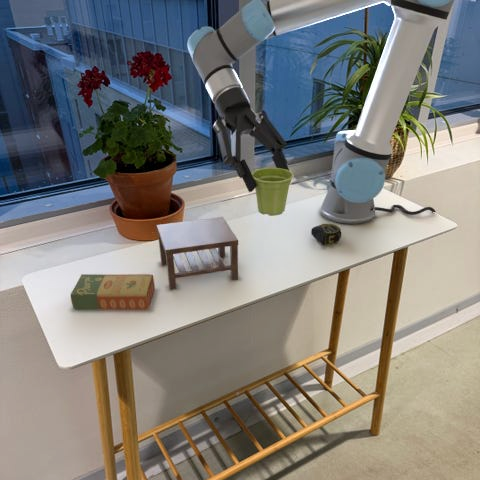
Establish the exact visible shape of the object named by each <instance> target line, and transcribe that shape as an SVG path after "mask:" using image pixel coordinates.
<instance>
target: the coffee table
mask: <svg viewBox="0 0 480 480" xmlns="http://www.w3.org/2000/svg"><path fill="white" fill-rule="evenodd" d="M156 230H157V237H158V246H159V247H158V248H159V256H160V264H161V266H166V269H167V270H166V271H167V277H168V278H167V280H168V288H169V290H170V291H173V290H176V289H177V280H176V279H180V278H181V279H182V278H186V277H195V276H200V275H206V274H212V273H213V274H214V273H219V272H220V273H221V272H226V271H227V272H228V271H230V278H231V280H232V281H236V280H238V279H239V239H238V237H237V236H236V234H235V233H234V231H233V229H232V228H231V227H230V225H229V224H228V222H227V220H226V219H225V217H224V216H218V217H217V216H216V217H209V218H203V219H201V218H200V219H193V220H185V221H177V222H170V223H163V224H161V223H160V224H156ZM227 247H229V255H230V256H229V258H230V262H229V263H230V264H228V265H226V264H225V262H224V260H223V258H224V257H226V248H227ZM207 250H208V251H209V253H210V254H211V256H212V258H213V260H214V262H215V265H216V266H213V265H212V263H211V262H210V259H209V257H208V255H207V253H206V252H205V251H207ZM193 252H196V253H197V255H198V257H199V259H200V262H201V263H202V265H203V267H204V268H201V269H200V267H199V264H198V263H197V261H196V258H195V256H194V254H193ZM180 254H184V255H185V257H186V260H187V262H188V264H189V267H190V269H191V270H187V269H186V267H185V264H184V262H183V259H182V257H181V255H180ZM175 266H176V269H177V271H178V272H176V269H175Z"/></svg>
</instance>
